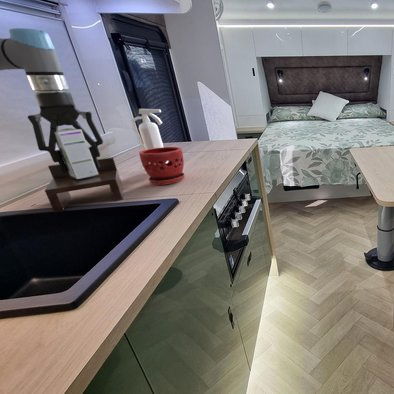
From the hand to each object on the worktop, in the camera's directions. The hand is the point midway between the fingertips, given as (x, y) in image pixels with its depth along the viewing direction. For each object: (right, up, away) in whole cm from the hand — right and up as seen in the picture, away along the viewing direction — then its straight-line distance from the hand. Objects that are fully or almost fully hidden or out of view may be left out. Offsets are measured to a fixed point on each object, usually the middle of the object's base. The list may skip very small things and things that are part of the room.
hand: (82, 169), depth 91 cm
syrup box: (0, -2, +1) cm, 2 cm away
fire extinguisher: (+4, +2, +30) cm, 30 cm away
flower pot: (+16, -3, +18) cm, 24 cm away
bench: (+1, -9, +3) cm, 10 cm away
